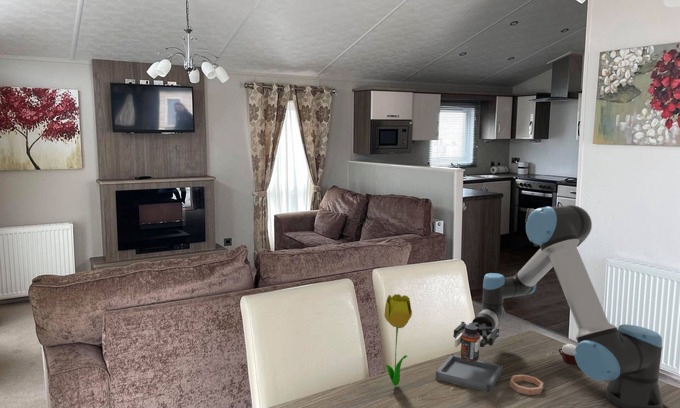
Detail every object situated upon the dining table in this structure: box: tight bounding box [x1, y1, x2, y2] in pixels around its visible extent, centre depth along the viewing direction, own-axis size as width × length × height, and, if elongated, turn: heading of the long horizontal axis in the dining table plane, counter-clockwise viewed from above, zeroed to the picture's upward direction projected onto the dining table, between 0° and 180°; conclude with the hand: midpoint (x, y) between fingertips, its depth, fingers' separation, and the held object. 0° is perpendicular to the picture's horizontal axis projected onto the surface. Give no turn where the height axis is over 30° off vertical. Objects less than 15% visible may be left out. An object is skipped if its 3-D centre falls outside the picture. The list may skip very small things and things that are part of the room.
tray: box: [435, 353, 504, 394], centre depth 174 cm, size 18×16×2 cm
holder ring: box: [509, 374, 544, 396], centre depth 167 cm, size 10×10×2 cm
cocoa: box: [558, 343, 577, 365], centre depth 185 cm, size 10×6×12 cm, turn 13°
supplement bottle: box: [460, 325, 481, 362], centre depth 173 cm, size 6×6×11 cm
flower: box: [384, 293, 413, 388], centre depth 164 cm, size 9×8×30 cm
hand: (465, 345), depth 168 cm, fingers closed on supplement bottle, 6 cm apart
